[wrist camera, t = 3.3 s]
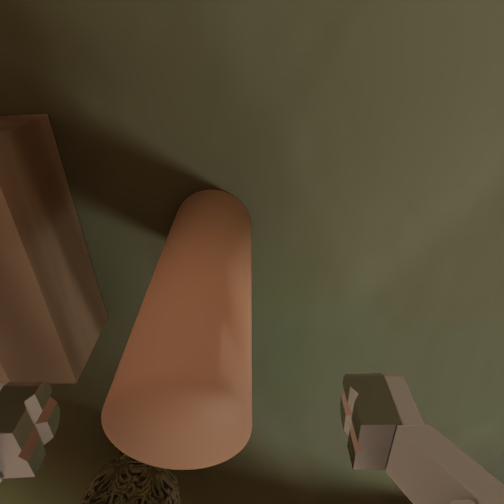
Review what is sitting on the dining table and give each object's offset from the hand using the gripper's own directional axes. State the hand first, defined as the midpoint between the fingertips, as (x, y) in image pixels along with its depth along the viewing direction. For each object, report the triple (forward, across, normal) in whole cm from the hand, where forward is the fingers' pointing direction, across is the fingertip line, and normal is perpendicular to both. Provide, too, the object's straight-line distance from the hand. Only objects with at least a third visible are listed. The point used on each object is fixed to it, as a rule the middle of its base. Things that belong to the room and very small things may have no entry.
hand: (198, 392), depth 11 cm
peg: (+11, 0, 0) cm, 11 cm away
